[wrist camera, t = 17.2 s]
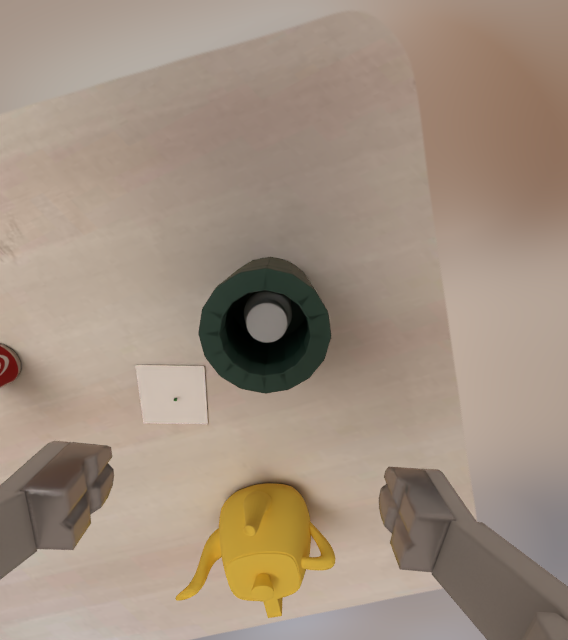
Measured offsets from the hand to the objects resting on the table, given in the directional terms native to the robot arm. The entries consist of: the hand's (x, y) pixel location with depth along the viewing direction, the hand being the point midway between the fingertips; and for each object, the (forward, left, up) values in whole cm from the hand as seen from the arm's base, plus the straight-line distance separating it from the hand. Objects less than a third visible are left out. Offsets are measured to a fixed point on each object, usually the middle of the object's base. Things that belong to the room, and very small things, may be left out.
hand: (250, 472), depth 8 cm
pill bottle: (0, 0, -23) cm, 23 cm away
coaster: (+14, -9, -23) cm, 29 cm away
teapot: (+29, +5, -23) cm, 38 cm away
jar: (0, 0, -23) cm, 23 cm away
